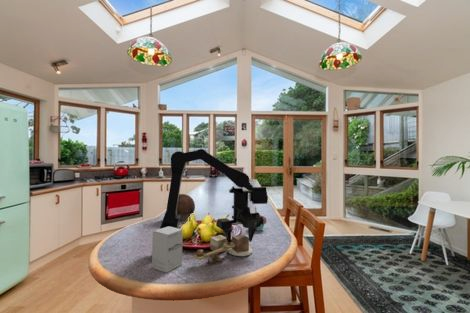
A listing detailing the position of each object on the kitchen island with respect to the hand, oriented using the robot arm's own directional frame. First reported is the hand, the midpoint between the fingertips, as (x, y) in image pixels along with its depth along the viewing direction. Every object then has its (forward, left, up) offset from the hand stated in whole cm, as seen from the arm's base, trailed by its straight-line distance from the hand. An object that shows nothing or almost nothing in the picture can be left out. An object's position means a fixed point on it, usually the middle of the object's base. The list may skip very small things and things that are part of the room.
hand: (240, 243), depth 99 cm
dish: (0, 0, -4) cm, 4 cm away
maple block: (-6, +6, -4) cm, 10 cm away
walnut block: (0, 0, -2) cm, 3 cm away
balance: (-12, -4, -4) cm, 14 cm away
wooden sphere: (-7, +57, -4) cm, 58 cm away
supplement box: (-28, 0, -4) cm, 29 cm away
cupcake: (+24, +23, -4) cm, 33 cm away
